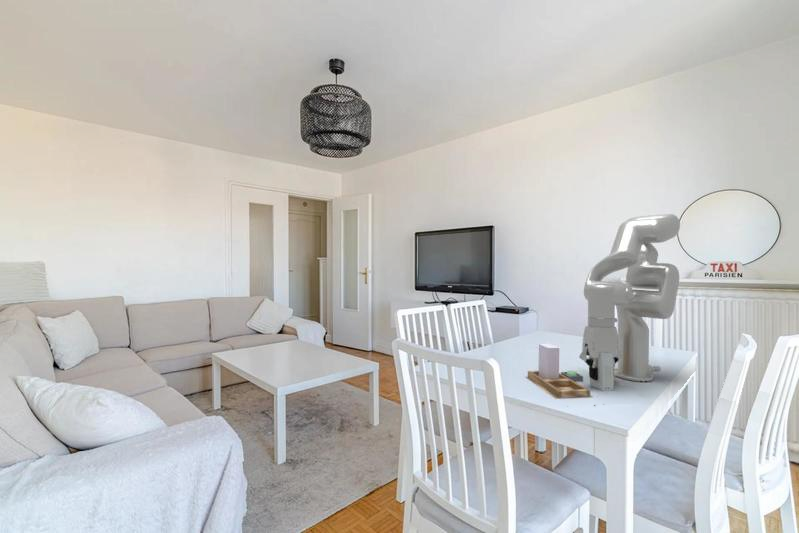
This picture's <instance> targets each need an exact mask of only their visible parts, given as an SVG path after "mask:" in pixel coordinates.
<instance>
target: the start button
mask: <svg viewBox="0 0 799 533" xmlns="http://www.w3.org/2000/svg"><path fill="white" fill-rule="evenodd" d="M566 372H567V375H569V376H577V373H578V372H577V371H574V370H567V371H566Z"/></svg>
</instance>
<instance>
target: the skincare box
mask: <svg viewBox="0 0 799 533" xmlns="http://www.w3.org/2000/svg"><path fill="white" fill-rule="evenodd" d="M592 361H593V360H592ZM596 368H597V369H598V380H594V379H592V378H590V377H589V385H590V386H591V387H593V388H596V389H598V390H600V391H603V392H607V391H608V392H609V391H614V389H615V386H614V385H615V378H614V379H613V353H612V352H607V353H600V357H599V359H598V360H597V364H596Z"/></svg>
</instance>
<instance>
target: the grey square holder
mask: <svg viewBox="0 0 799 533" xmlns="http://www.w3.org/2000/svg"><path fill="white" fill-rule="evenodd" d="M560 374H562V375H564V376H566V377H567V378H569V379H571V380H573V381H574V382H576V383H580V382H584V375H582V374H580V373H578V372H577V376H569V375H567V371H561V372H560Z"/></svg>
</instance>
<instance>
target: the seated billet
mask: <svg viewBox="0 0 799 533" xmlns="http://www.w3.org/2000/svg"><path fill="white" fill-rule="evenodd" d="M538 371H539V377H540V378H542V379H559V373H560V348H559V347H558V346H556V345H554V344H552V343H539V344H538Z"/></svg>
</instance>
